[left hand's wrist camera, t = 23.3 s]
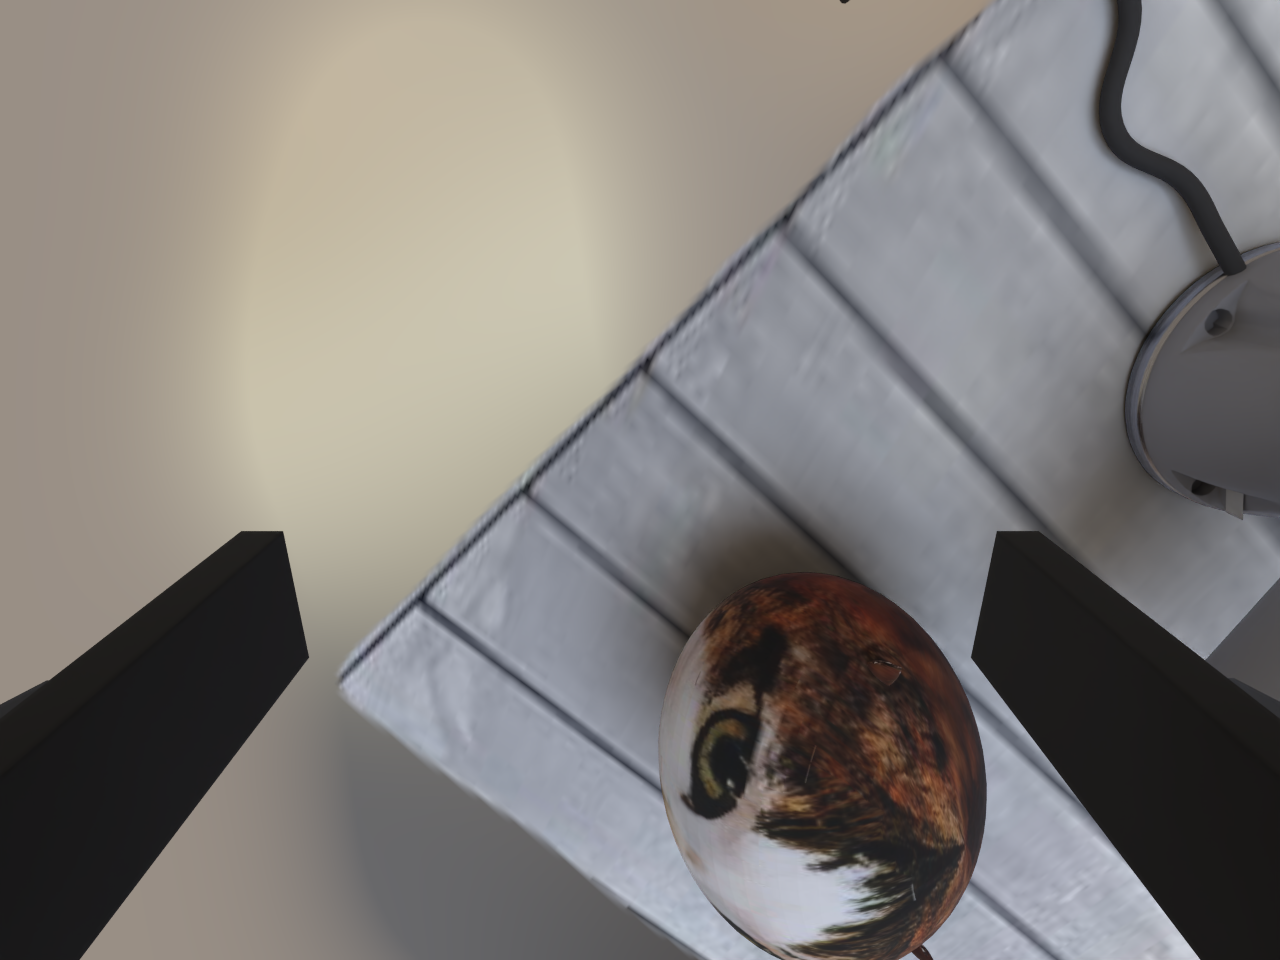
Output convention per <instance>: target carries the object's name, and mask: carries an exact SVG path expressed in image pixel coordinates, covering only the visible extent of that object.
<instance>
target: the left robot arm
mask: <svg viewBox="0 0 1280 960" xmlns="http://www.w3.org/2000/svg"><path fill="white" fill-rule="evenodd" d="M848 1H850V0H840V2H841V3H844V4H846V3H847V2H848ZM1117 3H1118V13H1119V22H1118V31H1117V37H1116V41H1115V46H1114V49H1113V53H1112V56H1111V59H1110V62H1109V66H1108V69H1107V72H1106V75H1105V79H1104V83H1103V87H1102V91H1101V97H1100V105H1099V117H1100V125H1101V129H1102V133H1103V136H1104V138H1105V140H1106V142H1107V144H1108V146H1109V147H1110V149H1111V150H1112V152H1113V153H1114V154H1115V155H1116V156H1117V157H1118V158H1119V159H1121V160H1122V161H1124V162H1125V163H1127V164H1129V165H1130V166H1132V167H1134V168H1137V169H1139V170H1141V171H1144V172H1146V173H1149V174H1151V175H1153V176H1156V177H1158V178H1160V179H1162V180H1163V181H1165V182H1167V183H1168V184H1170V185H1171V186H1172V187H1174V188H1175V189H1176V190H1177V191H1178V192H1179V194H1180V195H1181V196H1182V197H1183V199H1184V200H1185V201H1186V203H1187V205H1188V206H1189V208H1190V210H1191V212H1192V214H1193V216H1194V218H1195V220H1196V222H1197V224H1198V226H1199V229H1200V231H1201V232H1202V234H1203V236H1204V238H1205V240H1206V242H1207V243H1208V245H1209V247H1210V249H1211V251H1212V252H1213V254H1214V256H1215V258H1216V260H1217V262H1218V263H1219V265H1220V266H1218V267H1216V268H1215V269H1213V270H1212V271H1210V272H1209V273H1207V274H1206V275H1204V276H1203V277H1202V278H1201V279H1199V280H1198V281H1197V282H1195V283H1194V284H1193V285H1192V286H1191V287H1189V288H1188V289H1187V290H1186V291H1185V292H1184V293H1183V294H1182V295H1181V296H1180V297H1179V298H1178V299H1177V300H1176V301H1175V302H1174V303H1173V304H1172V305H1171V306H1170V307H1169V308H1168V309H1167V311H1166V312H1165V313H1164V314H1163V315H1162V317H1161V318H1160V319H1159V321H1158V322H1157V323H1156V325H1155V326H1154V328H1153V329H1152V331H1151V332H1150V334H1149V336H1148V337H1147V339H1146V340H1145V342H1144V344H1143V346H1142V348H1141V350H1140V352H1139V354H1138V356H1137V359H1136V361H1135V364H1134V366H1133V369H1132V373H1131V376H1130V379H1129V383H1128V389H1127V394H1126V404H1125V419H1126V427H1127V433H1128V437H1129V441H1130V443H1131V446H1132V449H1133V451H1134V453H1135V455H1136V457H1137V459H1138V460H1139V462H1140V463H1141V465H1142V466H1143V467H1144V469H1145V470H1146V471H1147V472H1148V473H1149V474H1150V475H1151V476H1152V477H1153V478H1154V479H1155V480H1156V481H1158V482H1159V483H1160V484H1162V485H1163V486H1165V487H1166V488H1168V489H1170V490H1172V491H1174V492H1176V493H1178V494H1180V495H1182V496H1184V497H1186V498H1188V499H1190V500H1192V501H1194V502H1196V503H1199V504H1202V505H1205V506H1209V507H1212V508H1216V509H1219V510H1223V511H1226V512H1227V513H1229V514H1231V515H1233V516H1235V517H1237V518H1239V519H1241V520H1243V514H1251V515H1260V516H1268V517H1277V518H1280V242H1277V243H1273V244H1269V245H1265V246H1262V247H1259V248H1256V249H1253V250H1250V251H1248V252H1245V253H1243V254H1241V255H1240V253H1239V251H1238V249H1237V247H1236V246H1235V244H1234V242H1233V240H1232V238H1231V236H1230V235H1229V233H1228V231H1227V229H1226V227H1225V225H1224V224H1223V222H1222V220H1221V218H1220V216H1219V213H1218V211H1217V209H1216V207H1215V205H1214V203H1213V201H1212V199H1211V197H1210V195H1209V193H1208V192H1207V190H1206V189H1205V187H1204V186H1203V184H1202V183H1201V182H1200V181H1199V179H1198V178H1197V177H1196V176H1195V175H1194V174H1193V173H1192V172H1191V171H1189V170H1188V169H1187V168H1185V167H1184V166H1182V165H1181V164H1179V163H1177V162H1176V161H1173V160H1171V159H1169V158H1167V157H1165V156H1162V155H1160V154H1157V153H1155V152H1153V151H1150V150H1148V149H1146V148H1144V147H1143V146H1141V145H1140V144H1138V143H1137V142H1136V141H1135V140H1134V139H1133V138H1132V137H1131V136H1130V135H1129V133H1128V132H1127V130H1126V128H1125V125H1124V123H1123V119H1122V114H1121V98H1122V93H1123V88H1124V84H1125V80H1126V77H1127V73H1128V70H1129V67H1130V64H1131V61H1132V58H1133V55H1134V51H1135V48H1136V44H1137V40H1138V36H1139V31H1140V25H1141V14H1142V4H1141V0H1117ZM308 658H309V655H308V650H307V646H306V641H305V636H304V631H303V626H302V621H301V616H300V611H299V607H298V602H297V597H296V592H295V587H294V582H293V578H292V573H291V568H290V563H289V558H288V553H287V548H286V544H285V539H284V534H283V531H241V532H240V533H238V534H237V535H236V536H235V537H233V538H232V539H231V540H229V541H228V542H227V543H226V544H224V545H223V546H222V547H220V548H219V549H218V550H217V551H215V552H214V553H213V554H211V555H210V556H209V557H208V558H206V559H205V560H204V561H202V562H201V563H200V564H199V565H197V566H196V567H195V568H193V569H192V570H191V571H190V572H188V573H187V574H186V575H184V576H183V577H182V578H181V579H179V580H178V581H177V582H175V583H174V584H173V585H172V586H170V587H169V588H168V589H166V590H165V591H164V592H163V593H161V594H160V595H159V596H157V597H156V598H155V599H154V600H152V601H151V602H150V603H148V604H147V605H146V606H145V607H143V608H142V609H141V610H139V611H138V612H137V613H135V614H134V615H133V616H132V617H130V618H129V619H128V620H126V621H125V622H124V623H123V624H121V625H120V626H119V627H117V628H116V629H115V630H114V631H112V632H111V633H110V634H109V635H107V636H106V637H105V638H103V639H102V640H101V641H99V642H98V643H97V644H96V645H94V646H93V647H92V648H91V649H89V650H88V651H87V652H85V653H84V654H83V655H81V656H80V657H79V658H78V659H76V660H75V661H74V662H72V663H71V664H70V665H69V666H67V667H66V668H65V669H63V670H62V671H61V672H60V673H58V674H57V675H56V676H54V677H53V678H52V679H51V680H49V681H45V682H43V683H41V684H39V685H37V686H35V687H33V688H31V689H29V690H28V691H26V692H24V693H22V694H20V695H18V696H16V697H14V698H12V699H10V700H8V701H6V702H4V703H2V704H1V705H0V960H80V958H81V957H82V956H83V954H84V953H85V952H86V951H87V949H88V948H89V947H90V945H91V944H92V943H93V941H94V940H95V939H96V937H97V936H98V935H99V933H100V932H101V931H102V929H103V928H104V927H105V925H106V924H107V923H108V922H109V920H110V919H111V918H112V916H113V915H114V914H115V912H116V911H117V910H118V908H119V907H120V906H121V904H122V903H123V902H124V900H125V899H126V898H127V897H128V895H129V894H130V893H131V891H132V890H133V889H134V887H135V886H136V885H137V883H138V882H139V881H140V879H141V878H142V877H143V875H144V874H145V873H146V871H147V870H148V869H149V868H150V866H151V865H152V864H153V862H154V861H155V860H156V858H157V857H158V856H159V854H160V853H161V852H162V850H163V849H164V848H165V846H166V845H167V844H168V843H169V841H170V840H171V839H172V837H173V836H174V835H175V833H176V832H177V831H178V829H179V828H180V827H181V825H182V824H183V823H184V821H185V820H186V819H187V818H188V816H189V815H190V814H191V812H192V811H193V810H194V808H195V807H196V806H197V804H198V803H199V802H200V800H201V799H202V798H203V796H204V795H205V794H206V792H207V791H208V790H209V789H210V787H211V786H212V785H213V783H214V782H215V781H216V779H217V778H218V777H219V775H220V774H221V773H222V771H223V770H224V769H225V767H226V766H227V765H228V764H229V762H230V761H231V760H232V758H233V757H234V756H235V754H236V753H237V752H238V750H239V749H240V748H241V746H242V745H243V744H244V742H245V741H246V740H247V738H248V737H249V736H250V734H251V733H252V732H253V731H254V729H255V728H256V727H257V725H258V724H259V723H260V721H261V720H262V719H263V717H264V716H265V715H266V713H267V712H268V711H269V710H270V708H271V707H272V706H273V704H274V703H275V702H276V700H277V699H278V698H279V696H280V695H281V694H282V692H283V691H284V690H285V688H286V687H287V686H288V685H289V683H290V682H291V680H292V679H293V678H294V677H295V675H296V674H297V673H298V671H299V670H300V669H301V667H302V666H303V665H304V663H305V662H306V661H307V659H308ZM971 658H972V659H973V661H974V662H975V663H976V665H977V666H978V667H979V669H980V670H981V671H982V673H983V674H984V675H985V677H986V678H987V679H988V681H989V682H990V683H991V685H992V686H993V687H994V688H995V690H996V691H997V692H998V694H999V695H1000V696H1001V698H1002V699H1003V700H1004V702H1005V703H1006V704H1007V706H1008V707H1009V708H1010V710H1011V711H1012V712H1013V713H1014V715H1015V716H1016V717H1017V719H1018V720H1019V721H1020V723H1021V724H1022V725H1023V727H1024V728H1025V729H1026V731H1027V732H1028V733H1029V735H1030V736H1031V737H1032V739H1033V740H1034V741H1035V742H1036V744H1037V745H1038V746H1039V748H1040V749H1041V750H1042V752H1043V753H1044V754H1045V756H1046V757H1047V758H1048V760H1049V761H1050V762H1051V764H1052V765H1053V766H1054V767H1055V769H1056V770H1057V771H1058V773H1059V774H1060V775H1061V777H1062V778H1063V779H1064V781H1065V782H1066V783H1067V785H1068V786H1069V787H1070V789H1071V790H1072V791H1073V792H1074V794H1075V795H1076V796H1077V798H1078V799H1079V800H1080V802H1081V803H1082V804H1083V806H1084V807H1085V808H1086V810H1087V811H1088V812H1089V814H1090V815H1091V816H1092V818H1093V819H1094V820H1095V821H1096V823H1097V824H1098V825H1099V827H1100V828H1101V829H1102V831H1103V832H1104V833H1105V835H1106V836H1107V837H1108V839H1109V840H1110V841H1111V843H1112V844H1113V845H1114V846H1115V848H1116V849H1117V850H1118V852H1119V853H1120V854H1121V856H1122V857H1123V858H1124V860H1125V861H1126V862H1127V864H1128V865H1129V866H1130V868H1131V869H1132V870H1133V872H1134V873H1135V874H1136V875H1137V877H1138V878H1139V879H1140V881H1141V882H1142V883H1143V885H1144V886H1145V887H1146V889H1147V890H1148V891H1149V893H1150V894H1151V895H1152V897H1153V898H1154V899H1155V900H1156V902H1157V903H1158V904H1159V906H1160V907H1161V908H1162V910H1163V911H1164V912H1165V914H1166V915H1167V916H1168V918H1169V919H1170V920H1171V922H1172V923H1173V924H1174V925H1175V927H1176V928H1177V929H1178V931H1179V932H1180V933H1181V935H1182V936H1183V937H1184V939H1185V940H1186V941H1187V943H1188V944H1189V945H1190V947H1191V948H1192V949H1193V951H1194V952H1195V953H1196V954H1197V956H1198V957H1199V958H1200V960H1280V578H1279V579H1278V581H1277V582H1276V583H1275V584H1274V585H1273V586H1272V587H1271V588H1270V589H1269V590H1268V592H1267V593H1266V594H1265V595H1264V596H1263V597H1262V598H1261V599H1260V600H1259V602H1258V603H1257V604H1256V605H1255V606H1254V607H1253V608H1252V609H1251V610H1250V612H1249V613H1248V614H1247V615H1246V616H1245V617H1244V618H1243V619H1242V620H1241V621H1240V623H1239V624H1238V625H1237V626H1236V627H1235V628H1234V629H1233V630H1232V631H1231V633H1230V634H1229V635H1228V636H1227V637H1226V638H1225V639H1224V640H1223V641H1222V642H1221V644H1220V645H1219V646H1218V647H1217V648H1216V649H1215V650H1214V651H1213V652H1212V654H1211V655H1210V656H1209V657H1208V658H1207V659H1206V660H1204V659H1202V658H1201V657H1200V656H1199V655H1197V654H1196V653H1195V652H1193V651H1192V650H1191V649H1190V648H1188V647H1187V646H1186V645H1184V644H1183V643H1182V642H1181V641H1179V640H1178V639H1177V638H1175V637H1174V636H1173V635H1172V634H1170V633H1169V632H1168V631H1166V630H1165V629H1164V628H1163V627H1161V626H1160V625H1159V624H1157V623H1156V622H1155V621H1154V620H1152V619H1151V618H1150V617H1148V616H1147V615H1146V614H1145V613H1143V612H1142V611H1141V610H1139V609H1138V608H1137V607H1136V606H1134V605H1133V604H1132V603H1130V602H1129V601H1128V600H1126V599H1125V598H1124V597H1123V596H1121V595H1120V594H1119V593H1117V592H1116V591H1115V590H1114V589H1112V588H1111V587H1110V586H1108V585H1107V584H1106V583H1105V582H1103V581H1102V580H1101V579H1099V578H1098V577H1097V576H1096V575H1094V574H1093V573H1092V572H1090V571H1089V570H1088V569H1087V568H1085V567H1084V566H1083V565H1081V564H1080V563H1079V562H1078V561H1076V560H1075V559H1074V558H1072V557H1071V556H1070V555H1069V554H1067V553H1066V552H1065V551H1063V550H1062V549H1061V548H1060V547H1058V546H1057V545H1056V544H1054V543H1053V542H1052V541H1051V540H1049V539H1048V538H1047V537H1045V536H1044V535H1043V534H1042V533H1040V532H1039V531H997V534H996V539H995V543H994V548H993V553H992V558H991V563H990V568H989V573H988V577H987V582H986V587H985V592H984V597H983V602H982V607H981V611H980V616H979V621H978V626H977V631H976V636H975V641H974V645H973V650H972V655H971Z"/></svg>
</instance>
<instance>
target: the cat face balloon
mask: <svg viewBox="0 0 1280 960" xmlns="http://www.w3.org/2000/svg"><path fill="white" fill-rule="evenodd" d="M659 772H660V782H661V789H662V795H663V799H664V804H665V809H666V813H667V817H668V820H669V823H670V827H671V830H672V833H673V836H674V838H675V841H676V844H677V846H678V848H679V851H680V853H681V855H682V857H683V859H684V861H685V864H686V866H687V868H688V869H689V871H690V873H691V875H692V876H693V878H694V880H695V881H696V883H697V885H698V886H699V888H700V889H701V891H702V892H703V894H704V895H705V896H706V898H707V899H708V900H709V902H710V903H711V904H712V905H713V907H714V908H715V909H716V910H717V912H718V913H719V914H720V915H721V916H722V917H723V918H724V919H725V920H726V921H727V922H728V923H729V924H730V925H731V926H732V927H733V928H734V929H735V930H736V931H737V932H739V933H740V934H741V935H743V936H744V937H745V938H746V939H748V940H749V941H750V942H752V943H753V944H754V945H756V946H757V947H759V948H760V949H762V950H764V951H766V952H767V953H769V954H771V955H773V956H775V957H777V958H779V959H781V960H898V959H900V958H902V957H904V956H905V955H907V954H909V953H910V952H912V953H913V954H914V955H915V956H916V957H917V958H919V959H920V960H933V958H932V957H931V955H930V953H929V952H928V950H927V949H926V948H925V947H924V945H923V943H924V942H925V941H926V940H927V939H929V938H930V937H931V936H932V935H933V934H934V933H935V932H936V931H937V930H938V929H939V928H940V927H941V925H942V924H943V923H944V922H945V921H946V919H947V918H948V917H949V916H950V915H951V913H952V912H953V910H954V908H955V907H956V905H957V904H958V902H959V900H960V899H961V897H962V895H963V893H964V891H965V889H966V887H967V885H968V883H969V881H970V879H971V876H972V874H973V871H974V868H975V865H976V863H977V859H978V855H979V852H980V848H981V843H982V838H983V834H984V826H985V818H986V801H987V783H986V773H985V763H984V756H983V749H982V745H981V740H980V736H979V732H978V728H977V724H976V721H975V718H974V715H973V712H972V709H971V706H970V704H969V701H968V698H967V696H966V694H965V692H964V690H963V688H962V686H961V683H960V681H959V679H958V678H957V676H956V674H955V672H954V670H953V669H952V667H951V665H950V664H949V662H948V660H947V659H946V657H945V656H944V654H943V653H942V651H941V650H940V649H939V647H938V646H937V645H936V643H935V642H934V641H933V640H932V638H931V637H930V636H929V635H928V634H927V633H926V632H925V631H924V629H923V628H922V627H921V626H920V625H919V624H918V623H917V622H916V621H915V620H914V619H913V618H912V617H911V616H910V615H908V614H907V613H906V612H905V611H904V610H902V609H901V608H900V607H899V606H897V605H896V604H895V603H893V602H892V601H890V600H889V599H887V598H886V597H884V596H883V595H881V594H879V593H878V592H876V591H874V590H872V589H870V588H868V587H866V586H864V585H862V584H859V583H857V582H854V581H851V580H848V579H845V578H842V577H838V576H833V575H828V574H822V573H809V572H800V573H788V574H781V575H777V576H773V577H769V578H765V579H762V580H759V581H757V582H754V583H752V584H750V585H748V586H746V587H744V588H742V589H740V590H738V591H737V592H735V593H733V594H732V595H731V596H729V597H728V598H727V599H725V600H724V601H723V602H721V603H720V604H719V605H718V606H717V607H715V608H714V609H713V610H712V611H711V612H710V613H709V614H708V615H707V617H706V618H705V619H704V620H703V621H702V622H701V624H700V625H699V626H698V627H697V628H696V630H695V631H694V633H693V634H692V635H691V637H690V638H689V640H688V642H687V643H686V645H685V647H684V648H683V650H682V652H681V654H680V656H679V658H678V660H677V663H676V665H675V667H674V670H673V672H672V675H671V678H670V681H669V684H668V687H667V691H666V694H665V698H664V703H663V708H662V713H661V720H660V728H659Z"/></svg>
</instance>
